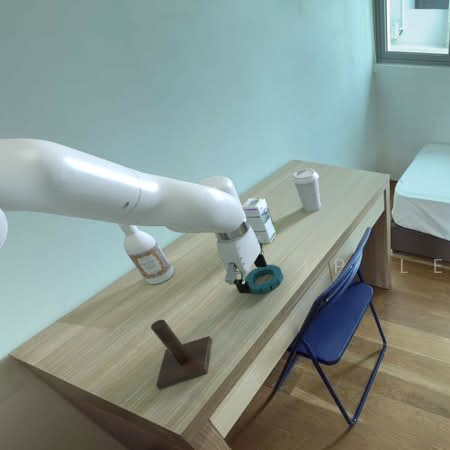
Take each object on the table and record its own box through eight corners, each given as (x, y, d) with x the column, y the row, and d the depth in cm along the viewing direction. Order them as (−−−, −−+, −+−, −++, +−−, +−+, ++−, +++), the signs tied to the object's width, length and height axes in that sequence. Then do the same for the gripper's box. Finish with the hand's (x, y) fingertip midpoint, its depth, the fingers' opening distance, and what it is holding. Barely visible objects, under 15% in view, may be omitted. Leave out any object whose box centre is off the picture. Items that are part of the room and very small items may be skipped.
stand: (207, 373, 66) (179, 334, 58) (159, 389, 64) (123, 351, 56) (211, 339, 73) (187, 301, 65) (168, 353, 71) (137, 314, 63)
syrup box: (271, 243, 103) (258, 206, 95) (254, 243, 104) (239, 207, 95) (277, 233, 108) (265, 197, 100) (260, 233, 108) (247, 197, 100)
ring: (285, 286, 87) (284, 281, 86) (248, 299, 83) (245, 294, 82) (279, 265, 94) (278, 260, 93) (244, 276, 91) (242, 271, 89)
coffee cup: (316, 199, 127) (308, 165, 119) (329, 206, 122) (322, 172, 113) (295, 208, 122) (286, 173, 113) (308, 216, 116) (299, 181, 108)
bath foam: (147, 288, 88) (107, 232, 77) (147, 275, 93) (109, 220, 81) (175, 278, 91) (140, 222, 80) (173, 265, 96) (140, 211, 85)
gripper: (234, 208, 80) (254, 257, 90) (195, 251, 66) (224, 304, 76) (261, 207, 80) (279, 257, 90) (228, 251, 66) (253, 304, 76)
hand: (254, 278), depth 83 cm, fingers open, 9 cm apart
